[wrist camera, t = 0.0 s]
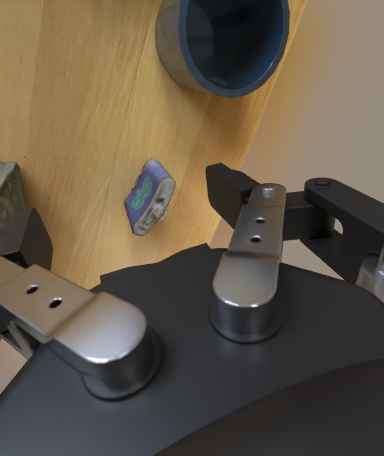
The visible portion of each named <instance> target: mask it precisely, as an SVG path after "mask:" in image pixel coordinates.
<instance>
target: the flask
mask: <svg viewBox="0 0 384 456" xmlns="http://www.w3.org/2000/svg"><path fill="white" fill-rule="evenodd" d="M135 183H136V184H135V187H134V188H132V191H131V193H130V194H129V195H128V196H127V198H126V199H125V201H124V205H125V208H126V211H127V216H128V218H129V221H130V225H131V228H132V233H133V234H135V235H138V236H143V235H145V234H147V233H148V232H149V230H150V229H151V228H152V227H153V226H154V225H155V224H156V223H157V221H158V220H159V219H160V217H161V216H162V215H163V213H164V211H165V209H166V207H167V206H168V204H169V201H170V199H171V197H172V195H173V192H174V189H175V185H176V183H175V181H174V180H173V178H172V177H171V176H170V175H169V174H168V172H167V171H166V170H165V169H164V168H163V167H162V165H161V164H160V162H159V161H157V160H155V159H151V160H149V161H148V162H147V163H146V164H145V165H144V167H143V171H142V173H141V174H140V176H138V178H137V180H136V181H135ZM166 214H167V212H166ZM165 218H166V215H165V216H163V217H162V218H161V219H160V220H161V221H163V220H164V219H165Z"/></svg>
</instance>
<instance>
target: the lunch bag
mask: <svg viewBox="0 0 384 456" xmlns="http://www.w3.org/2000/svg"><path fill="white" fill-rule="evenodd" d="M23 210H26V205H25V201H24V196H23V192H22V187H21V182H20V177H19V166H18V164H17V163H15V162H13V163H4V162H0V231H1V230H2V229H3V228H4V227H5V226H8V225H10V224H11V221H12V219H13V217H14V214H15V213H16V212H19V211H23ZM0 340H1V336H0Z"/></svg>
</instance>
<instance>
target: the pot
mask: <svg viewBox="0 0 384 456" xmlns="http://www.w3.org/2000/svg"><path fill="white" fill-rule="evenodd" d="M289 19H290V11H289V5H288V0H163V2H162V4H161V6H160V8H159V11H158V15H157V19H156V27H155V39H156V47H157V51H158V55H159V58H160V60H161V62H162V65H163V67H164V68H165V70H166V72H167V73H168V74H169V75H170V77H171V78H172V79H173V80H174V81H175V82H177V83H178V84H179V85H181V86H183V87H184V88H186V89H188V90H193V91H198V92H203V93H208V94H212V95H217V96H222V97H228V98H234V97H240V96H245V95H248V94H249V93H251V92H253V91H254V90H256V89H258V88H260V87H261V86H262V85H263V84H264V83H265V82H266V81H267V80H268V79H269V77H270V76H271V75H272V74H273V73H274V71H275V69H276V67H277V66H278V64H279V62H280V60H281V58H282V56H283V54H284V50H285V46H286V43H287V39H288V34H289Z"/></svg>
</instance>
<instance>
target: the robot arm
mask: <svg viewBox="0 0 384 456" xmlns="http://www.w3.org/2000/svg"><path fill="white" fill-rule="evenodd" d="M206 180H207V190H208V198H209V202H210V204H211V206H212V207H213V208H214V209H215V210H216V212H217V213H218V214H219V215H220V216H221V217H222V218H223V219H224V220H225V221H226V222H227V223H228V224H229V225H230V226H231V227H232V228H233V229H234V232H233V236H232V238H231V242H230V244H229V247H228V249H227V248H214V249H210V247H209V246H208V245H207V243H204V244H201V245H198V246H195V247H192V248H188V249H185V250H182V251H180V252H178V253H176V254H174V255H172V256H170V257H168V258H166V259H164V260H162V261H160V262H158V263H153V264H146V265H139V266H132V267H127V268H124V269H120V270H117V271H114V272H111V273H107V274H104V275H101V276H100V280H101V284H99V285H97V286H95V287H94V288H92V289H91V290H87V289H85V288H83V287H81V286H79V285H77V284H75V283H73V282H71V281H69V280H67V279H65V278H63V277H61V276H59V275H57V274H55V273H53V272H51V271H50V270H51V262H52V254H53V247H52V242H51V240H50V237H49V235H48V233H47V231H46V229H45V226H44V224H43V222H42V220H41V218H40V216H39V214H38V212H37V210H36V209H35V208H31V209H27V210H23V211H19V212H16V213H15V214H14V217H13V219H12V221H11V224H10V225H8V226H5V227H4V228H3V229H2V230H1V231H0V336H1V337H2V338H3V339H4V340H5V341H6V342H7V343H9V344H10V345H11V346H12V347H14V348H15V349H16V350H17V351H18V352H19V353H20V354H22V355H23V356H24V357H25V358H26V359H28V361H27V362H26V363H25V365H24V366H23V367H22V368H21V370H20V371H19V372H18V373H17V374H16V376H15V377H14V378H13V379H12V381H11V382H10V383H9V384H8V386H7V387H6V388H5V389H4V391H3V392H2V393H1V394H0V456H384V203H382V202H380V201H378V200H376V199H373V198H371V197H369V196H367V195H365V194H363V193H361V192H359V191H357V190H355V189H353V188H351V187H349V186H347V185H345V184H343V183H341V182H339V181H337V180H334V179H330V178H313V179H309V180H307V181H306V182H305V187H304V191H300V192H291V193H286V188H285V187H284V186H282V185H280V184H275V183H264V184H260V183H258V182H256V181H255V180H253V179H251V178H250V177H249V176H247V175H246V174H244V173H243V172H241V171H237V170H233V169H232V170H231V169H230V168H228V167H227V166H225V165H224V164H222V163H218V164H214V165H210V166H207V167H206ZM335 219H338V220H339V221H340V222H341V224H342V227H343V234H340V233H339V232H338V231H336V230H335V229H334V224H335ZM297 239H300V241H301V242H302V243H303V244H304V245H305V246H306V247H308V248H309V249H310V250H311V251H312V252H313V253H314V254H315V255H317V256H318V257H319V258H320V259H321V260H322V261H324V262H325V263H326V264H327V265H328V266H329V267H330V268H331V269H333V270H334V271H335V272H336V273H337V274H338V275H339V276H341V277H342V278H343V279H344V280H345V281H344V280H340V279H337V278H333V277H330V276H326V275H323V274H319V273H316V272H313V271H309V270H306V269H302V268H298V267H295V266H292V265H288V264H284V263H282V250H283V241H286V240H297Z"/></svg>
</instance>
